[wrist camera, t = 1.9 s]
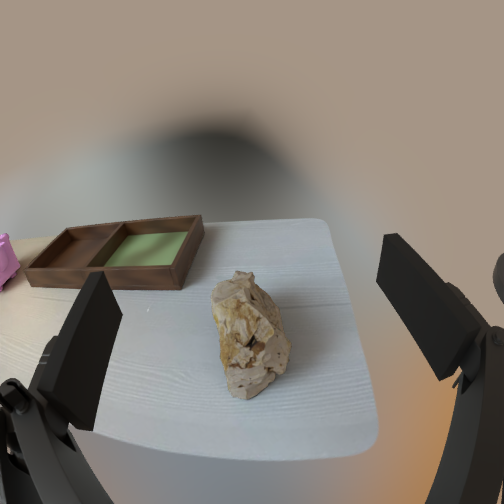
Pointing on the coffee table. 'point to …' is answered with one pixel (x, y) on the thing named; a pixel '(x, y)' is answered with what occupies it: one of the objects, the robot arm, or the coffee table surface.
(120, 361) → the coffee table surface
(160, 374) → the coffee table surface
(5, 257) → the teapot
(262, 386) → the rock
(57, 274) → the divided wooden tray
